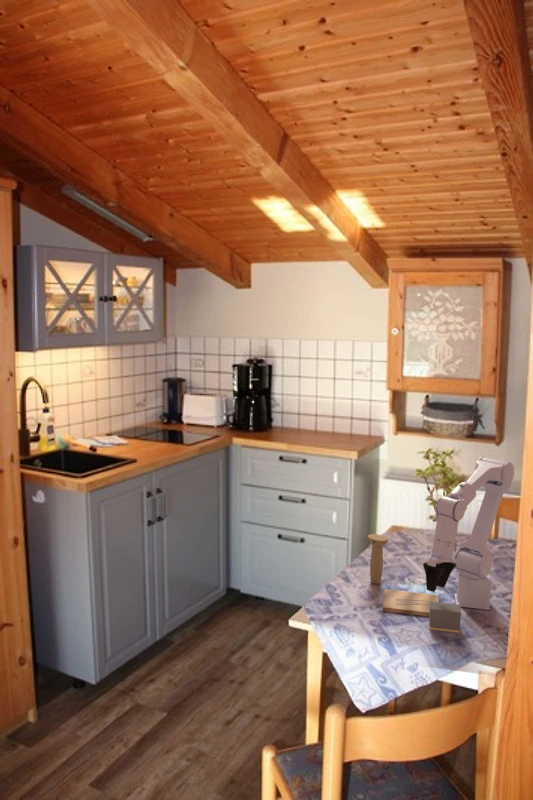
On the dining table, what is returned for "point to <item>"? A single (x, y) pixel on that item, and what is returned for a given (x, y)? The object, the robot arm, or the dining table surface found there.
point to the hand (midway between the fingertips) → (435, 588)
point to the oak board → (408, 602)
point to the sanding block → (444, 617)
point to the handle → (376, 557)
